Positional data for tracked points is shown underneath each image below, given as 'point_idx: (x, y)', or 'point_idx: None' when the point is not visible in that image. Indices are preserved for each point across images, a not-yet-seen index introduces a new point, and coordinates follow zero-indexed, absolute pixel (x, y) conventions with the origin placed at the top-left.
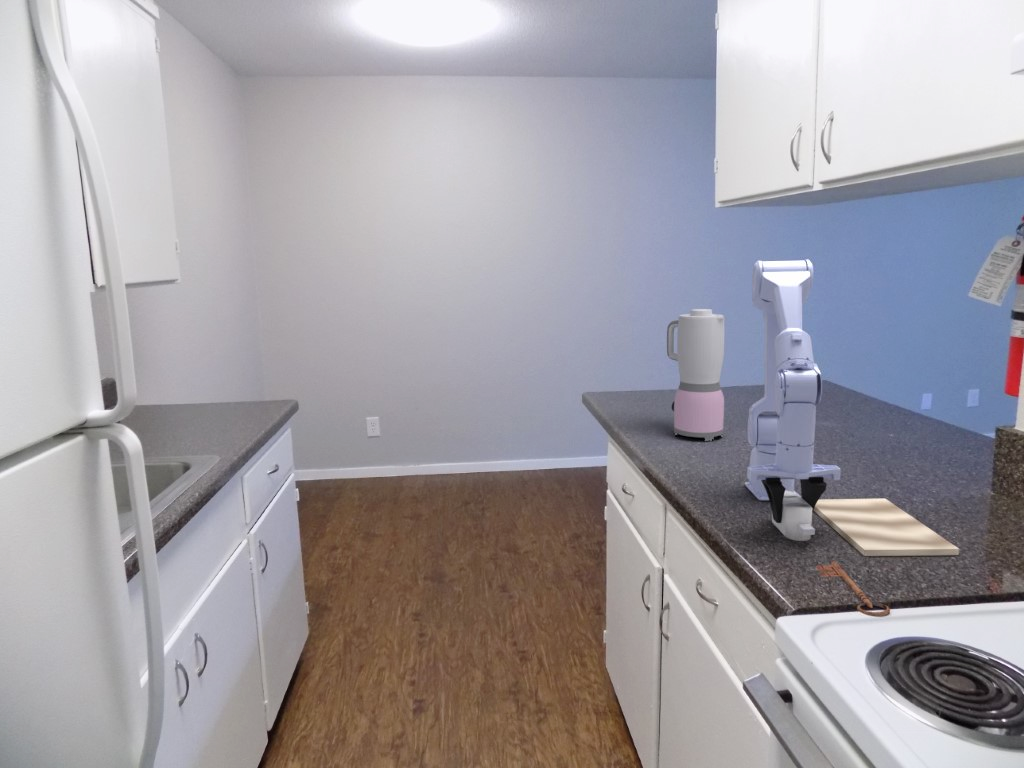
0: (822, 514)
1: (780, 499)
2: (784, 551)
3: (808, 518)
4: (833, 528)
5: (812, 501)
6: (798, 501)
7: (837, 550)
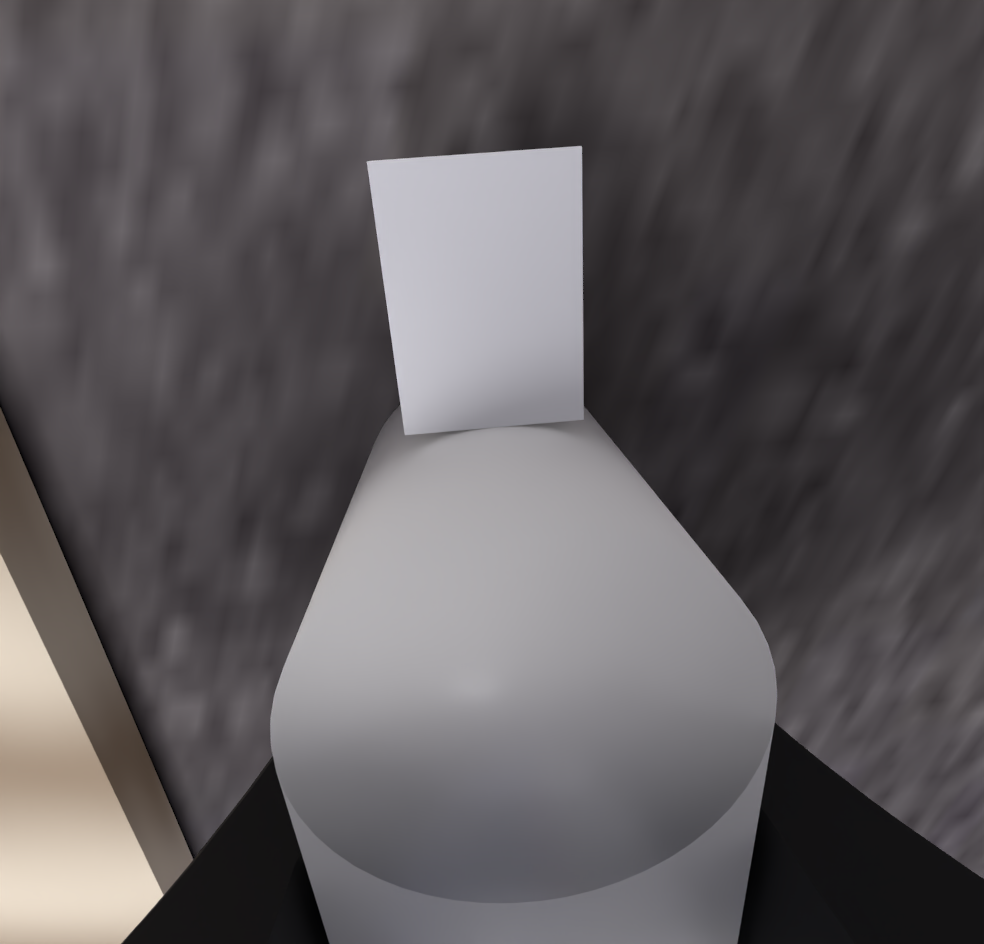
0: (166, 871)
1: (892, 919)
2: (790, 31)
3: (400, 487)
4: (110, 666)
5: (214, 936)
6: (452, 939)
7: (132, 87)
